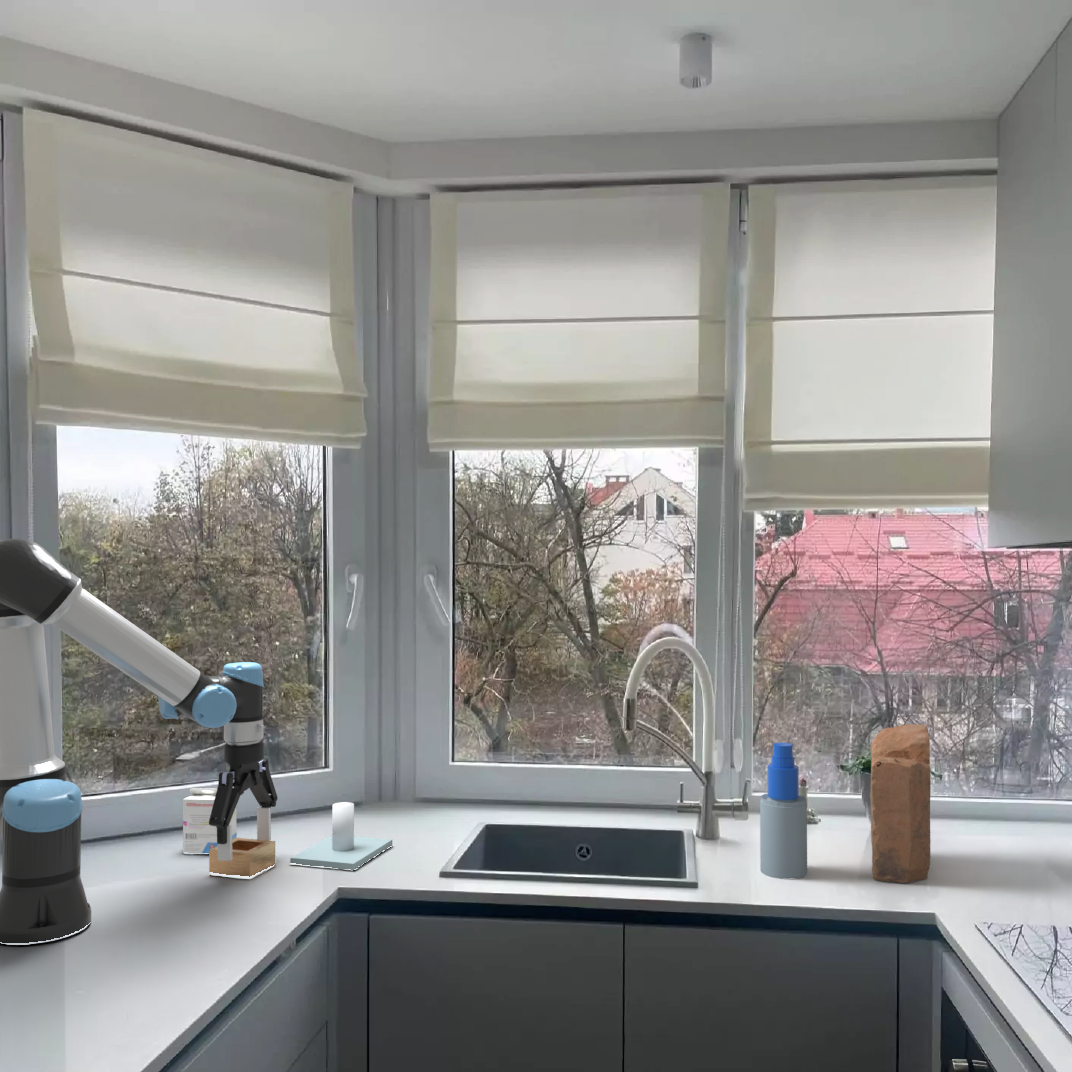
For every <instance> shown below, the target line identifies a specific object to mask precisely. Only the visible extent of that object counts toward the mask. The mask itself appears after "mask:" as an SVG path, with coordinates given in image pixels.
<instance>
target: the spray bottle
mask: <svg viewBox="0 0 1072 1072" xmlns="http://www.w3.org/2000/svg"><path fill="white" fill-rule="evenodd" d="M793 747H794V744H793V743H789V742H774V743H773V746H772V756H771V763H769V764H767V793H764V794H762V795H761V796H760V800H759V816H760V817H759V820H760V821H759V827H760V829H759V832H760V833H759V835H760V837H759V838H760V839H759V840H760V841H759V842H760V845H759V847H760V850H759V851H760V857H759V858H760V862H759V863H760V864H759V865H760V872H761V874H763V875H765V876H768V877H770V878H776V879H781V878H798V879H801V878H805V877H806V876H807V875H808V803H807V801H806V797H804V796H802V795H801V794H800V788H799V787H800V785H799V784H800V779H799V777H800V773H799V771H800V770H799V768H800V767H799V765H798V764H797V765H796V764H795V757H794V753H793ZM804 876H805V877H804Z"/></svg>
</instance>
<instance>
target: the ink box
mask: <svg viewBox="0 0 1072 1072" xmlns="http://www.w3.org/2000/svg"><path fill="white" fill-rule="evenodd" d="M217 788H218V787H215V788H214V787H213V788H212V787H203V788H201V787H190V788H189V792H190V793H191V795H189V796H186V797H185V798H183V799H182V841H183V842H182V853H183V852H188V853H209V850H210V849H212V848H214V847H217V846H218V843H217V827H216V826H212V825H209V819H210V815H211V812H212V808H213V804H214V800H215V796H216V792H217ZM224 820H225V819H224ZM229 825H231V826H232V839H234V838H237V807H236V808H235V811H234V813H233V816H232V818H231V821H230V823H229Z"/></svg>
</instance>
